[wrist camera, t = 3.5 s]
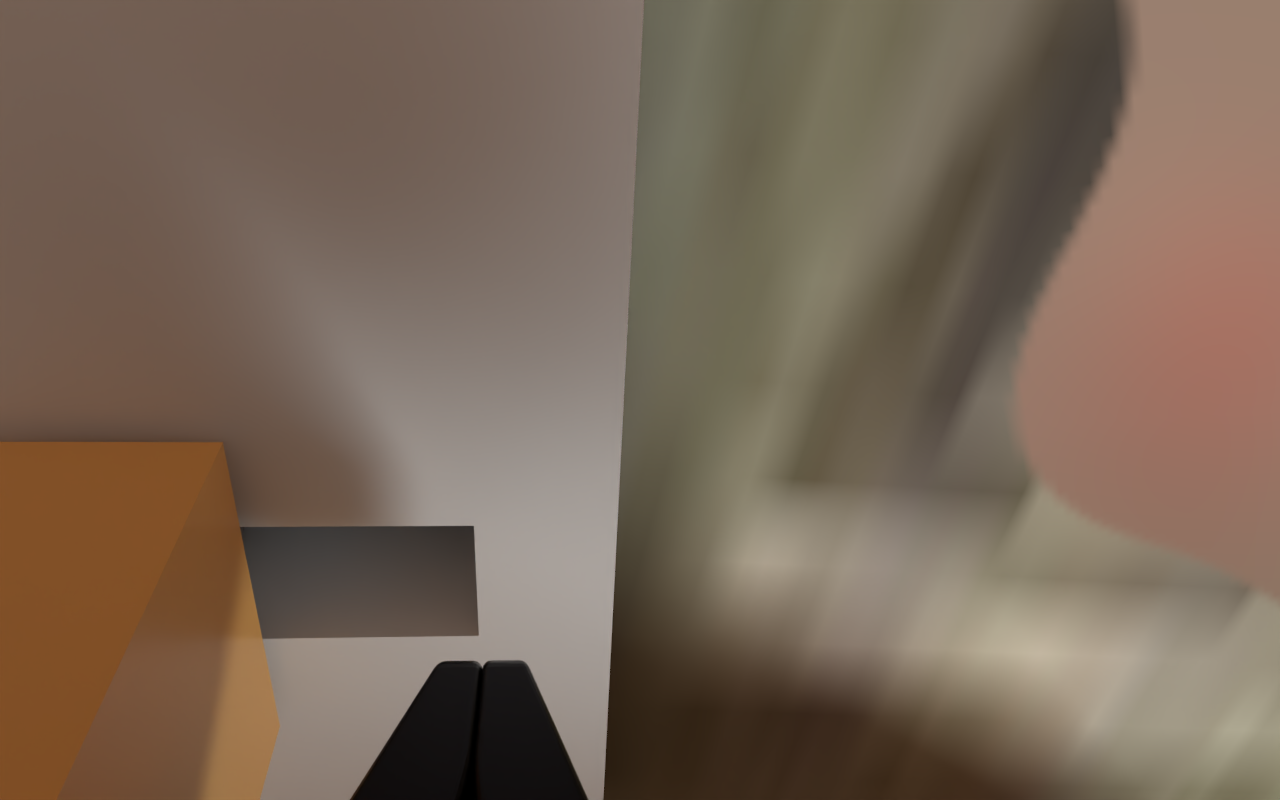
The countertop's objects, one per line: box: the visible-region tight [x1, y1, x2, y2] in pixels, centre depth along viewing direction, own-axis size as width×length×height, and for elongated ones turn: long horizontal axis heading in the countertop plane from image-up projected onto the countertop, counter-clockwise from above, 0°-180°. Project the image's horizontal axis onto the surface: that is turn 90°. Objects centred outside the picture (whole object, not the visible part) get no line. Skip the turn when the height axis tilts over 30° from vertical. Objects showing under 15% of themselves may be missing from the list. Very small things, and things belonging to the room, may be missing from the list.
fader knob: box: [0, 442, 280, 800], centre depth 10 cm, size 2×4×6 cm, turn 177°
